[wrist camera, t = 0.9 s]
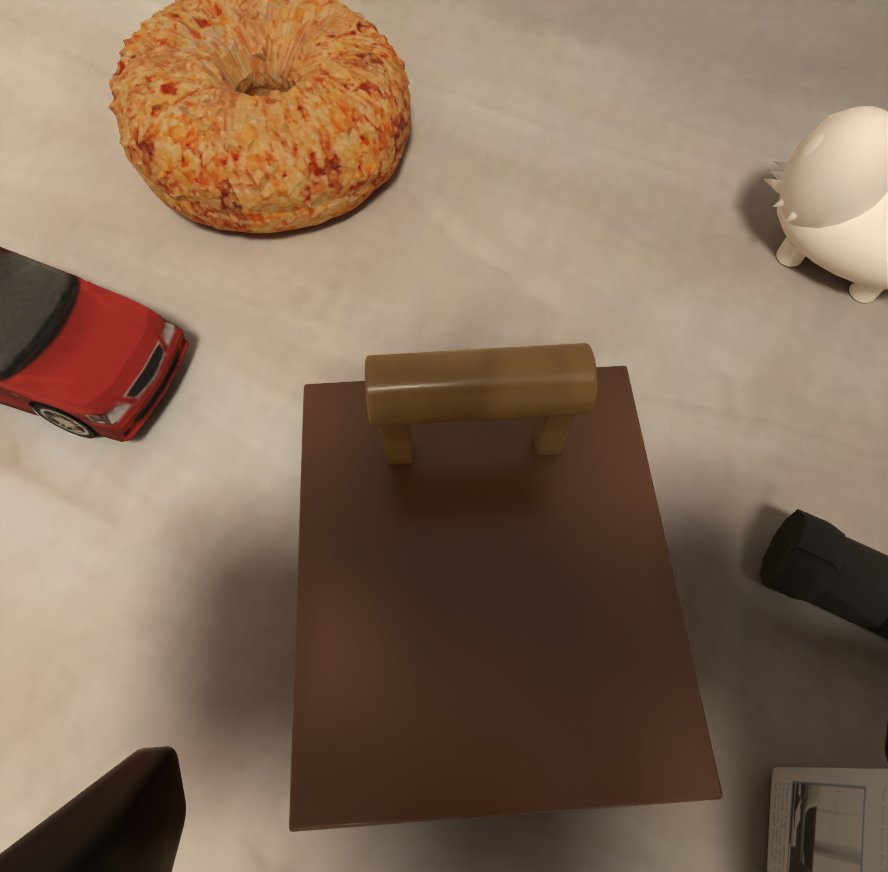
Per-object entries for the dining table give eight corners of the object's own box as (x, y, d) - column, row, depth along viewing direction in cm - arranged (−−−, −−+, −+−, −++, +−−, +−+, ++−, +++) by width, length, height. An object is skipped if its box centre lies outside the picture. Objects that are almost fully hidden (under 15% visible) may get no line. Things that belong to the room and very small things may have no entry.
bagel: (125, 267, 28) (63, 172, 23) (153, 64, 34) (108, -42, 29) (426, 240, 28) (422, 143, 24) (401, 45, 34) (394, -62, 30)
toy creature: (763, 188, 30) (836, 55, 24) (940, 269, 28) (1065, 145, 22) (718, 251, 28) (785, 124, 22) (902, 343, 26) (1028, 228, 20)
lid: (308, 397, 20) (267, 289, 15) (620, 378, 20) (672, 267, 15) (295, 828, 15) (228, 859, 10) (711, 797, 15) (826, 813, 10)
